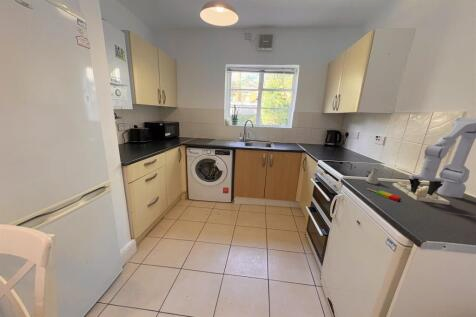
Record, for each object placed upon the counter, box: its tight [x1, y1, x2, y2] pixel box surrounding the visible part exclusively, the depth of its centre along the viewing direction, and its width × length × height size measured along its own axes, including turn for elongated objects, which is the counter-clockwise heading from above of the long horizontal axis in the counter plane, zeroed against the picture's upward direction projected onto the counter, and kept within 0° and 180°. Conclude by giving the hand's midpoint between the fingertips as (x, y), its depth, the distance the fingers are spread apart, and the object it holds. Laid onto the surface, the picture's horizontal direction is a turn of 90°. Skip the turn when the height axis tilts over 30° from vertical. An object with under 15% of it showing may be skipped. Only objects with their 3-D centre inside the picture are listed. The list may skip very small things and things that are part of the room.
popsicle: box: [366, 188, 401, 202], centre depth 101 cm, size 6×15×2 cm, turn 33°
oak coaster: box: [397, 181, 411, 185], centre depth 120 cm, size 8×8×1 cm
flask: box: [365, 166, 380, 185], centre depth 118 cm, size 7×7×10 cm
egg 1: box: [415, 189, 427, 198], centre depth 98 cm, size 4×4×5 cm
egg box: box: [392, 182, 451, 206], centre depth 104 cm, size 14×21×2 cm
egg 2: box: [421, 185, 429, 192], centre depth 103 cm, size 4×4×5 cm
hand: (421, 193), depth 98 cm, fingers open, 7 cm apart
